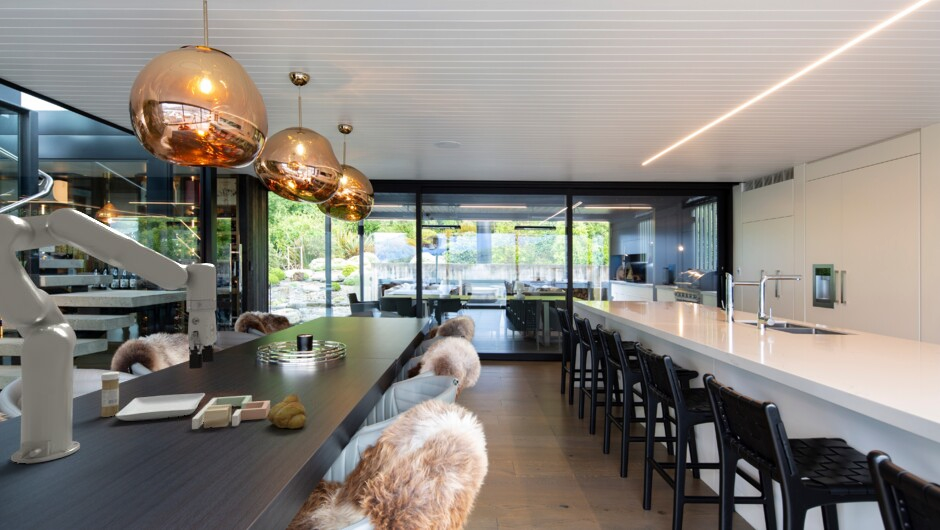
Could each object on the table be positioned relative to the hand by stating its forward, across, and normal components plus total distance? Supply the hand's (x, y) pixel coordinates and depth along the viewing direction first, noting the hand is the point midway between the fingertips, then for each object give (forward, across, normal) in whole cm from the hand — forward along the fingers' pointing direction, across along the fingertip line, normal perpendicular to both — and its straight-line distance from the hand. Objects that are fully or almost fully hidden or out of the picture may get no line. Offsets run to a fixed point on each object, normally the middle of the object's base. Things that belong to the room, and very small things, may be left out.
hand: (202, 364), depth 137 cm
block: (+19, +4, -3) cm, 19 cm away
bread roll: (+19, -2, -24) cm, 31 cm away
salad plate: (+19, +21, +18) cm, 34 cm away
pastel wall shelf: (+19, +12, -6) cm, 23 cm away
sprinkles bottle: (+18, +20, +33) cm, 43 cm away
